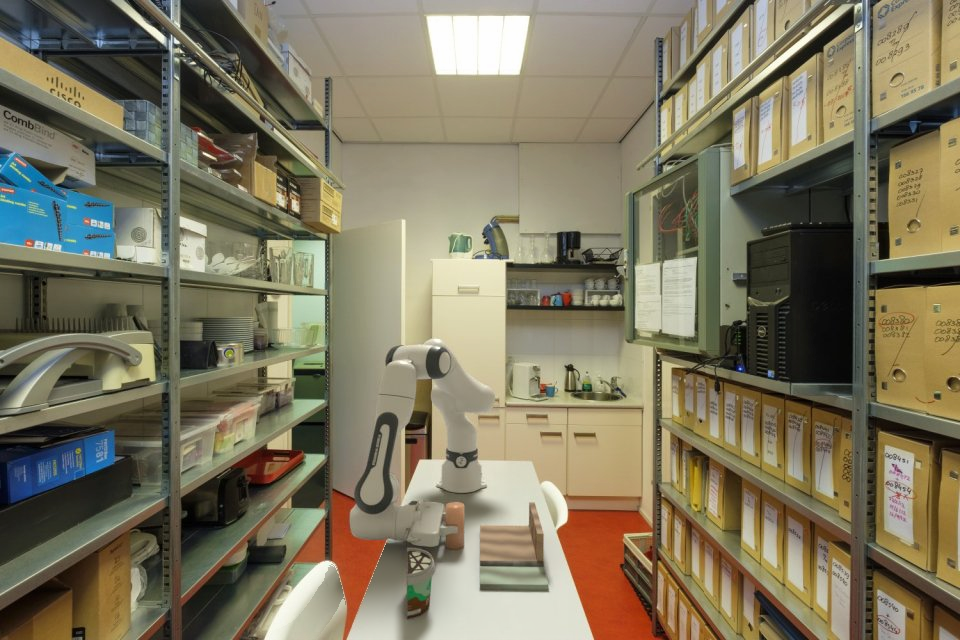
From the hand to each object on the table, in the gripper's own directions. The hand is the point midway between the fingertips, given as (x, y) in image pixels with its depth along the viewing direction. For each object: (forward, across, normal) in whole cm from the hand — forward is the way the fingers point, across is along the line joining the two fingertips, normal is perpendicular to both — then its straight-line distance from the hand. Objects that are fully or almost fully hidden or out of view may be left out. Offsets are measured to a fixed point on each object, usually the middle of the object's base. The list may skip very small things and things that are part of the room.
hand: (458, 523), depth 131 cm
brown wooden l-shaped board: (+14, -7, +6) cm, 17 cm away
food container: (-7, -27, +6) cm, 29 cm away
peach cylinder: (-1, 0, +6) cm, 6 cm away
